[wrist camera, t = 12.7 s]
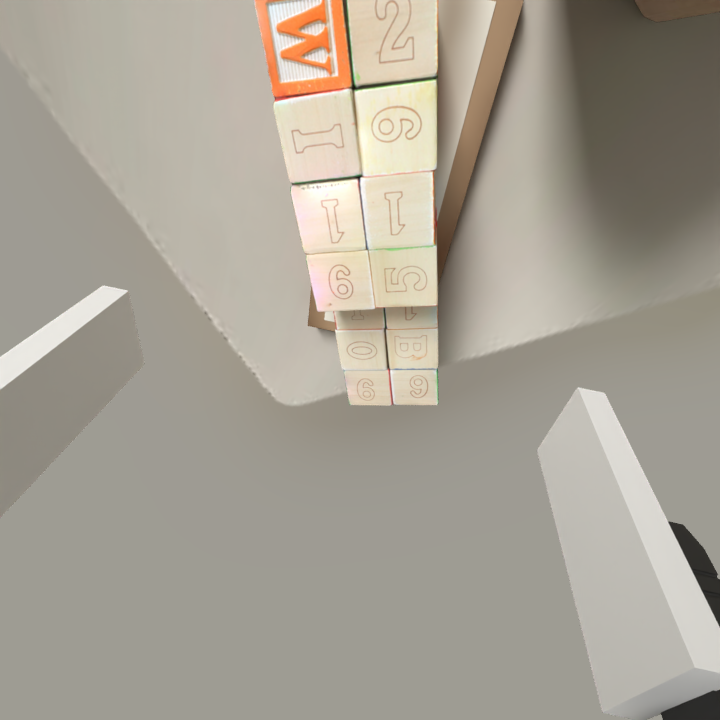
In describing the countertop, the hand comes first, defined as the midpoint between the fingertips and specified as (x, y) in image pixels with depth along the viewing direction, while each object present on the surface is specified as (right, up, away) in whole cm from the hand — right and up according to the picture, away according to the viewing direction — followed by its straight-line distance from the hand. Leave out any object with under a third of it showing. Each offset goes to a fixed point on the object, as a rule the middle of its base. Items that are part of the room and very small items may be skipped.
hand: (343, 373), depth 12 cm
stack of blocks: (+3, +11, +17) cm, 21 cm away
